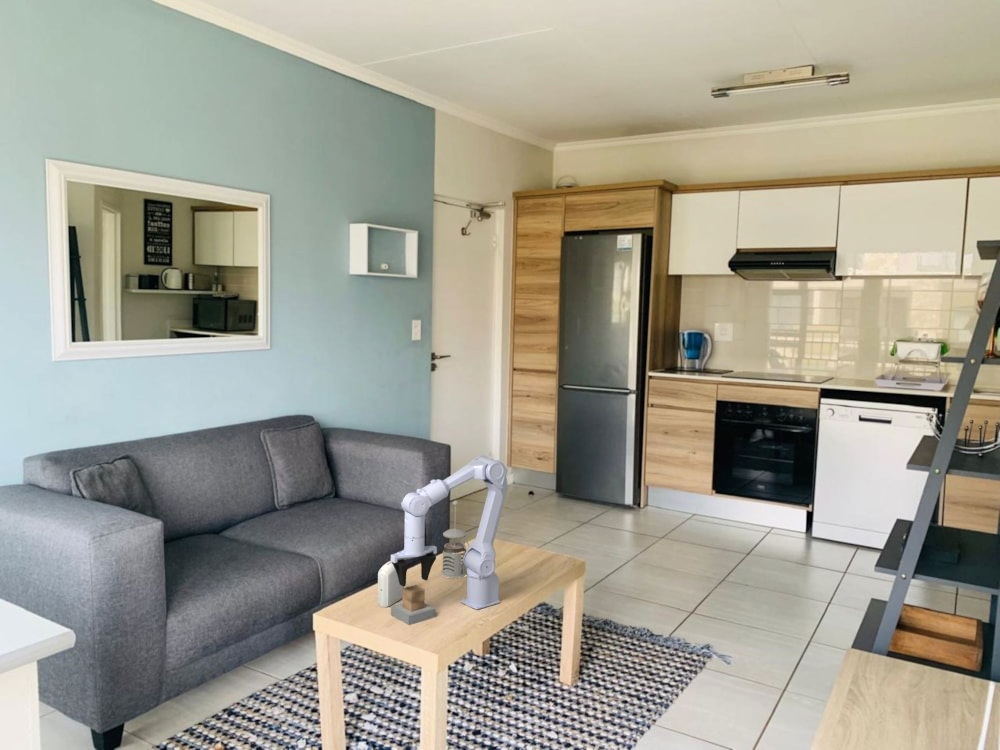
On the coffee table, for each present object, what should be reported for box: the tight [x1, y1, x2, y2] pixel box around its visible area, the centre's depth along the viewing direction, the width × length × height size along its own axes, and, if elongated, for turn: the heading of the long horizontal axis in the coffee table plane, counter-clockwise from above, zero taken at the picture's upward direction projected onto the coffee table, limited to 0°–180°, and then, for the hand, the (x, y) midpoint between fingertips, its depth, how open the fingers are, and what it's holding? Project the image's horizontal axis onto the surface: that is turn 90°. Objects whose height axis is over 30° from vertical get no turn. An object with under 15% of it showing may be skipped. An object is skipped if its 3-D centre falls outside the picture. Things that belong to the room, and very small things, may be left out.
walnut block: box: [402, 584, 426, 612], centre depth 212 cm, size 4×4×6 cm
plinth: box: [390, 602, 436, 626], centre depth 212 cm, size 9×9×2 cm
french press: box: [440, 500, 470, 578], centre depth 247 cm, size 10×12×25 cm
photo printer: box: [377, 560, 405, 608], centre depth 222 cm, size 10×4×12 cm, turn 156°
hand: (413, 582), depth 212 cm, fingers open, 7 cm apart
